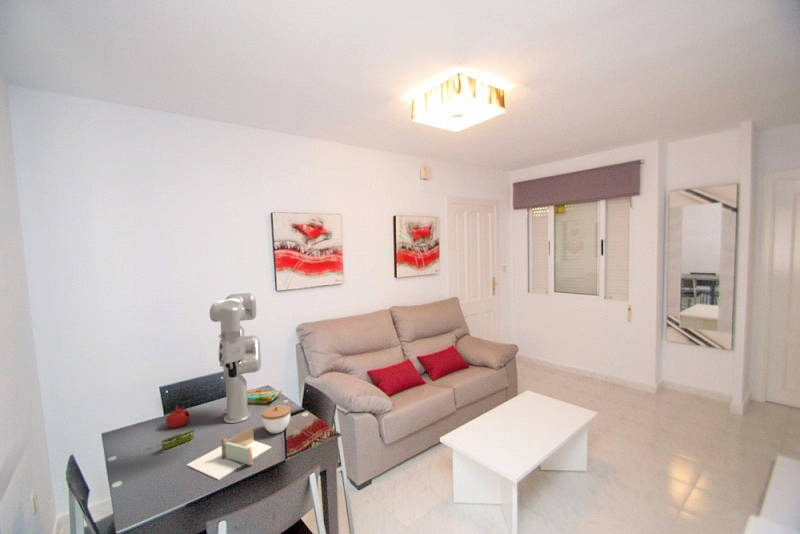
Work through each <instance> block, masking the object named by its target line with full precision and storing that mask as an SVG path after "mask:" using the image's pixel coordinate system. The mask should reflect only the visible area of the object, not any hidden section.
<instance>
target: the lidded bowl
mask: <svg viewBox="0 0 800 534" xmlns="http://www.w3.org/2000/svg"><path fill="white" fill-rule="evenodd" d="M261 418H262V419H261V420H262V424H263V427H264V428H265V430H266V431H268V432H269V434H271V435H272V434H279V433H283V432H284V431H285V430H286V428H287V427H288V425H289V424H290V422H291V421H290V420H291V407H290V406H288V405H285V404H279V405H278V404H276V405H271V406H269V407H267V408H264V410H262V411H261Z"/></svg>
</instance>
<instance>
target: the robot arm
mask: <svg viewBox="0 0 800 534" xmlns="http://www.w3.org/2000/svg"><path fill="white" fill-rule="evenodd" d="M256 317H257V300H256V297H255V296H254V294H253V293H250V292H247V293H246V292H245V293H244V292H243V293H231V294H229V295H227V297H225V299H223V300H220V301H216V302H215V301H214V303H212V304H211V306H210V309H209V318H210V320H211V321H212V322H214V323H220V334H219V335H218V338H219V343H218V362H219V367H223V368H222V369H223V373H224V379H225V393H226V394H225V395H226V396H225V397H226V398H225V399H226V408H224V409H223V412H226V414H225V415H224V416H223V421H224V422H225V423H227V424H237V423H242V422H244V421H247V420H248V419H249V418H250V417H252V411H251V410H249V409H248V407H249V406H248V404H249V403H248V402H247V391H248V382H247V379H246V378H245V377H244V376H243V374H244V375H245V374H249V373H250V374H251V373H256V372H258V371H260V370H261V368H262V358H261V357H262V354H261V353H262V352H261V342H260V339H259V337H258V336H257V335H246V336H245V329H244V328H243V327H242V326H241V322H242V321H252V320H254V319H256Z"/></svg>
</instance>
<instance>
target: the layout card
mask: <svg viewBox="0 0 800 534" xmlns="http://www.w3.org/2000/svg"><path fill="white" fill-rule="evenodd" d="M246 447H252V453H253V460H254V459H256V458H257V457H259V456H260V455H262V454H264V453H265V452H267V451H268V450H270V449H272V446H271V445H268V444H265V443H262V442H259V441H256V440H254V442H252V443H250V444H249V445H247V446H246ZM242 465H243V466H244V465H245V463H242V462H238V461H235V460H231V459H228V458H222V445H221V446H218V447H217V448H215V449H213V450H211V451H210V452H207V453H206V454H204V455H202V456H200V457H198V458H196V459H194V460H192V461H190V462H188V463H187V464H186V466H187V467H189V468H190V469H193V470H196V471H198V472H200V473H202V474H204V475H207V476H209V477H211V478H213V479H215V480H217V481H221V480H222V479H223V478H225V477H227V476H228V475H230V474H232V473H233V472H234V470H235V471H236V470H237V468H238V469H239V468H241V467H243V466H242Z"/></svg>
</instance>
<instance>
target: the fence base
mask: <svg viewBox="0 0 800 534" xmlns="http://www.w3.org/2000/svg"><path fill="white" fill-rule="evenodd" d="M254 441H255V439H254V427H249V428H248V429H245V430H243V431H242V432H240V433H238V434H236V435H234V436H233V437H230V438H229V439H227V437H222V438H221V442H220V443H221V446H222V458H226V449H225V443H227V442H231V443H234V444H238V445H242V446H247V445H249V444H250V443H252V442H254Z"/></svg>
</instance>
